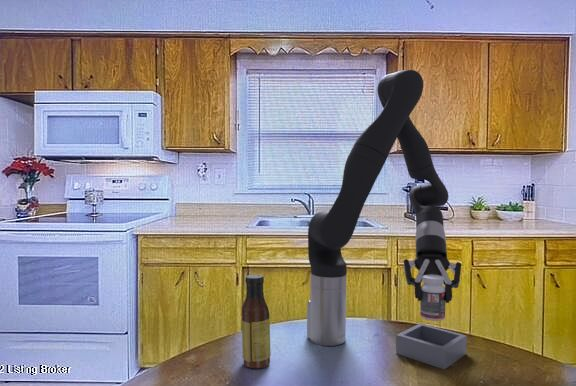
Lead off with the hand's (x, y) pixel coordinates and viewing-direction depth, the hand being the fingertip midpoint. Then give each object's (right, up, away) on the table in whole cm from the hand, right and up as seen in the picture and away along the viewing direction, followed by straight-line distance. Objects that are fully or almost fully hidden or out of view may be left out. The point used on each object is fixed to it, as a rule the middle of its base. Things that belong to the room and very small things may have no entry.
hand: (433, 300), depth 101 cm
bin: (0, -13, +2) cm, 14 cm away
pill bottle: (0, -5, +2) cm, 5 cm away
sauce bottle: (-42, -13, -5) cm, 44 cm away
